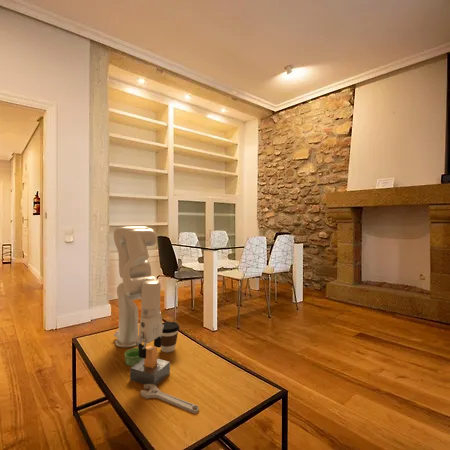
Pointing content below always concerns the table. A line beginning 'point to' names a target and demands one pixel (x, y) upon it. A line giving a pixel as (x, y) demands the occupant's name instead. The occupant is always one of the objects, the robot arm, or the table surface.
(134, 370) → the grey square frame
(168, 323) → the coffee cup
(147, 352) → the orange square peg
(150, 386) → the adjustable wrench
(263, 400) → the table surface
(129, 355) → the ramekin
